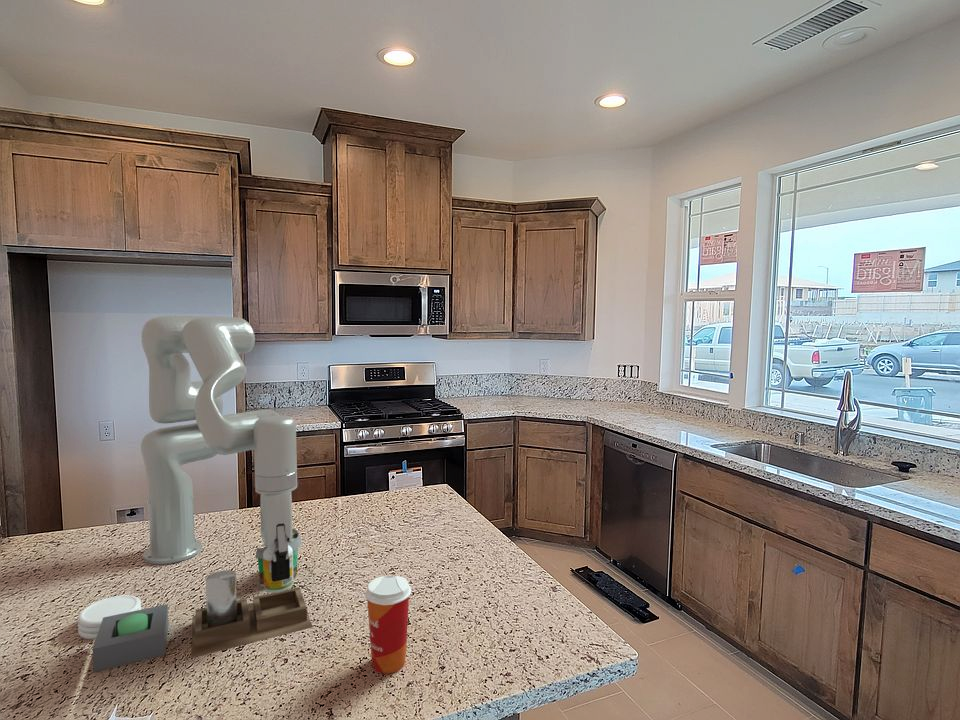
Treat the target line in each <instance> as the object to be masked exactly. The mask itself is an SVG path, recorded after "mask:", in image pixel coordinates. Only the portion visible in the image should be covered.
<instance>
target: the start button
mask: <svg viewBox="0 0 960 720" xmlns="http://www.w3.org/2000/svg"><path fill="white" fill-rule="evenodd" d="M117 625H118V636H122V635H126V634H131V633H135V632H140V631H144V630H148V616H147V615H146V614H143V613H138V614H133V615H129V616H127V617H125V618H123V619H121V620H120V621H119V622H118V624H117Z"/></svg>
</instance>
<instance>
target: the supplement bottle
mask: <svg viewBox="0 0 960 720" xmlns="http://www.w3.org/2000/svg"><path fill="white" fill-rule="evenodd" d="M276 543H278V540H276V541H274V544H276ZM288 544H289V543H288ZM277 550H278V547H276V551H277ZM288 552H289V558H290V578H289V579H285V580H280V581H275V582H273V581H272V574H271V560H273V556H272V546H269V547H268V548H267V549H266V550H265V551H264V553H263V574H264V587H263V589H264V590H265V592H267V593H269V594H270V593H278V592H283V591H285V590H288V589H292V587H293V585H294V580H295V578H293V550H292V548H291V546H289V545H288Z"/></svg>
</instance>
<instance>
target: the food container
mask: <svg viewBox="0 0 960 720" xmlns="http://www.w3.org/2000/svg"><path fill="white" fill-rule="evenodd" d="M288 545H289V546H291V548H292V550H293V578H294V579H295V578H296V576H297V574H298V562H299V561H298V559H299V548H300V547H301V546H302V537H301V535H300V533H299V531H298V530H297V529H295V528H293V527H292V541H291V543H289V544H288ZM266 549H267V548H266V547H265V546H264V547H256V551H255V559H257V566H258V575H259V584H260V588H264V574H263V553H264V551H265V550H266Z"/></svg>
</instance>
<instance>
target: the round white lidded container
mask: <svg viewBox="0 0 960 720" xmlns="http://www.w3.org/2000/svg"><path fill="white" fill-rule="evenodd" d="M141 605H142V601H141V599H140V598H139V597H137V596H135V595H131V594H122V595H121V594H120V595H115V596H110V597H106V598H102V599H100V600H97V601H94V602H93V603H91V604H89V605H87V606H86V607H85V608H84V609H82V610H81V611H80V612H79V614H78V616H77V619H76V620H77V633H78V635H79V636H80V637H81V638H83V639H84V640H85V639H86V640H96V637H97V634H98V631H99V628H100V625H101V622H102V620H103V617H108V616H113V615H118V614H122V613H127V612H132V611H137V610H142V606H141Z"/></svg>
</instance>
